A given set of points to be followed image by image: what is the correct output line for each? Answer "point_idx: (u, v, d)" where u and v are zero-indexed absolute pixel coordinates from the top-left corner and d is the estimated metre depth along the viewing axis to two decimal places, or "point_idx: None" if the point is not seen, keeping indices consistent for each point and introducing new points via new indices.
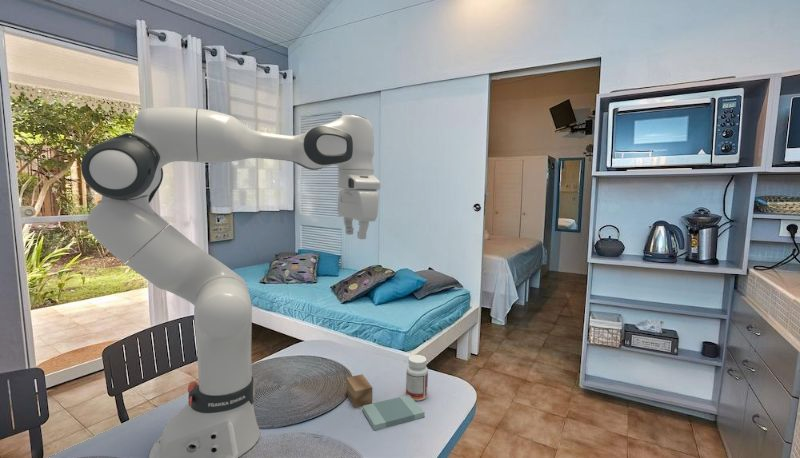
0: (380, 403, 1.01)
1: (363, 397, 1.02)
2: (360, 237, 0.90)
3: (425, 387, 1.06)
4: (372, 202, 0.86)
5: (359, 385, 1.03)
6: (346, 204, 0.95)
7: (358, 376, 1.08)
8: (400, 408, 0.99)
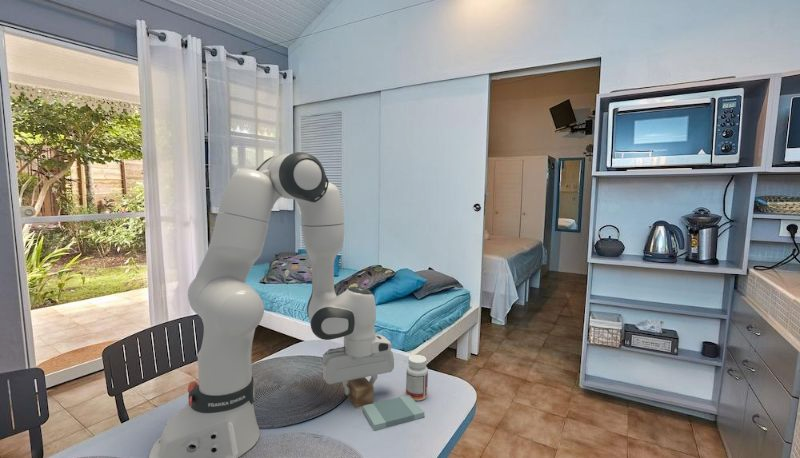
0: (380, 403, 1.01)
1: (364, 397, 1.02)
2: None
3: (425, 387, 1.06)
4: None
5: (359, 385, 1.03)
6: (354, 368, 1.02)
7: None
8: (400, 408, 0.99)
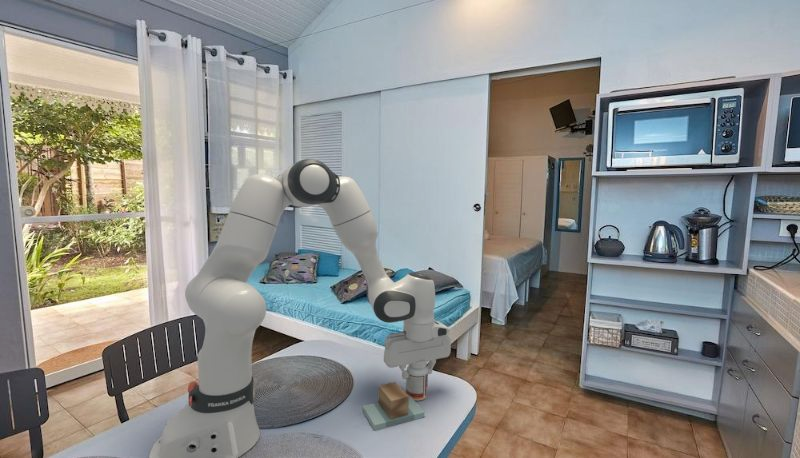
0: None
1: (399, 407, 0.95)
2: None
3: (425, 387, 1.06)
4: None
5: (394, 395, 0.96)
6: (414, 352, 1.04)
7: (391, 384, 1.01)
8: None
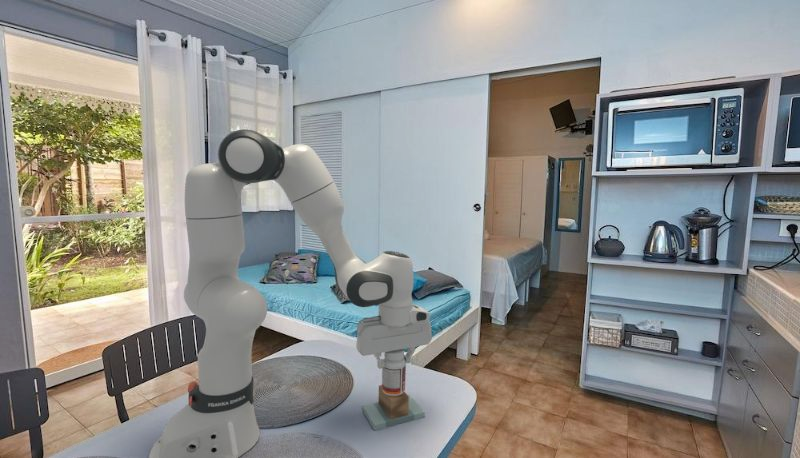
0: None
1: (399, 407, 0.95)
2: None
3: (403, 382, 0.96)
4: None
5: None
6: (390, 338, 0.94)
7: None
8: None
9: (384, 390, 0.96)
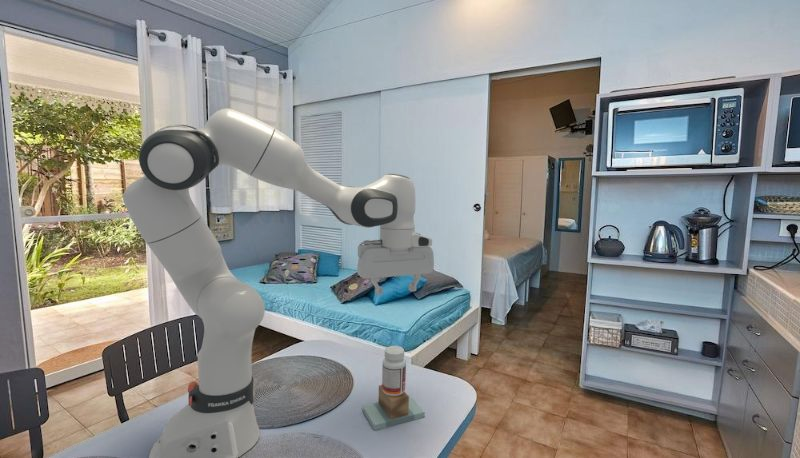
0: None
1: (399, 407, 0.95)
2: None
3: (403, 382, 0.96)
4: None
5: None
6: (392, 263, 0.92)
7: None
8: None
9: (384, 390, 0.96)
